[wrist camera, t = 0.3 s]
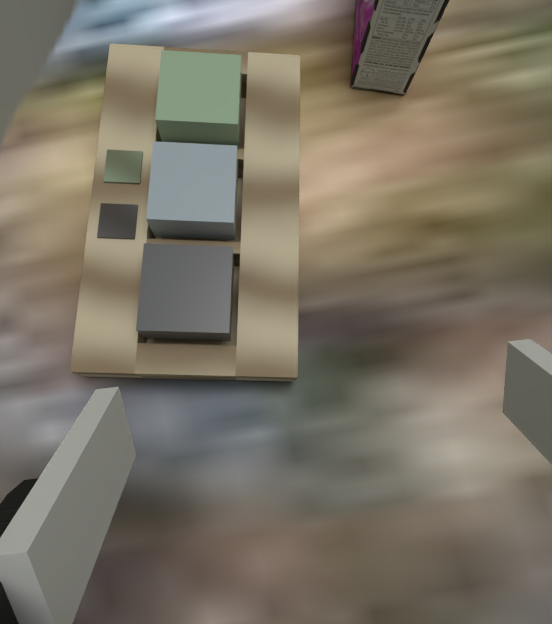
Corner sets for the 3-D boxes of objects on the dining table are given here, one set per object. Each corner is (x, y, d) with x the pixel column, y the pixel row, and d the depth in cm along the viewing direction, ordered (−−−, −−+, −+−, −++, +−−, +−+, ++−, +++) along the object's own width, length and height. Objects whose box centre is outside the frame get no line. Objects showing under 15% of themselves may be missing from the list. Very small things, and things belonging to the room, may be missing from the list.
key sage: (238, 148, 33) (238, 124, 30) (162, 144, 33) (155, 119, 30) (241, 84, 34) (241, 54, 32) (168, 79, 34) (161, 50, 31)
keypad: (293, 381, 32) (297, 377, 29) (86, 376, 31) (68, 371, 28) (296, 84, 37) (300, 53, 34) (121, 73, 37) (109, 41, 33)
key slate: (234, 239, 31) (233, 222, 29) (155, 236, 31) (146, 218, 28) (238, 168, 33) (237, 145, 30) (161, 164, 32) (153, 141, 30)
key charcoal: (230, 341, 30) (229, 333, 27) (146, 338, 29) (135, 330, 27) (234, 262, 31) (232, 246, 28) (153, 259, 31) (143, 243, 28)
